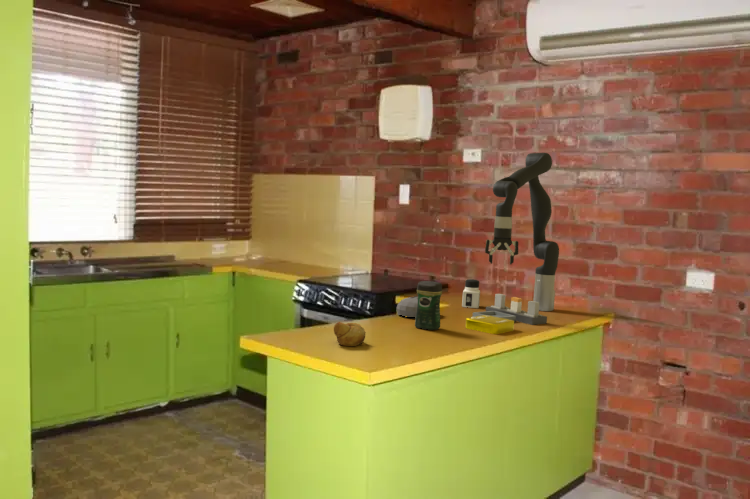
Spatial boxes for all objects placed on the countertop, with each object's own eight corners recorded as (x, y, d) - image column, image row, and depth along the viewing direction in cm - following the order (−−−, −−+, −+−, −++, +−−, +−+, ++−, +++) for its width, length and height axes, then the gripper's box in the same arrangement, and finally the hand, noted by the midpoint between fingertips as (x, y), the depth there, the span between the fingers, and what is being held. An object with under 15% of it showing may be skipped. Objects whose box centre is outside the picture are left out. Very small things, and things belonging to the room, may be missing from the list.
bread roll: (346, 338, 245) (348, 316, 244) (372, 342, 241) (373, 319, 241) (330, 345, 233) (331, 321, 232) (356, 349, 229) (357, 325, 229)
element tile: (495, 335, 266) (495, 323, 266) (463, 328, 276) (463, 317, 276) (515, 331, 277) (516, 319, 277) (484, 324, 287) (484, 313, 287)
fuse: (530, 321, 299) (532, 300, 298) (537, 323, 296) (539, 302, 295) (526, 321, 298) (528, 301, 297) (533, 323, 294) (535, 302, 294)
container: (478, 308, 325) (480, 281, 324) (461, 307, 327) (463, 279, 326) (479, 306, 333) (481, 279, 332) (463, 304, 334) (464, 278, 333)
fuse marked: (513, 317, 307) (515, 297, 306) (520, 318, 304) (522, 298, 303) (509, 317, 306) (511, 297, 305) (516, 319, 302) (518, 298, 302)
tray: (494, 316, 306) (494, 310, 306) (515, 321, 296) (516, 316, 296) (472, 318, 299) (472, 312, 299) (493, 323, 288) (494, 317, 288)
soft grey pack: (410, 310, 311) (389, 316, 293) (411, 292, 310) (390, 297, 293) (441, 315, 303) (421, 321, 286) (442, 296, 303) (422, 301, 285)
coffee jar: (442, 328, 272) (445, 281, 271) (434, 331, 266) (437, 283, 264) (420, 325, 277) (423, 279, 276) (411, 327, 270) (414, 280, 269)
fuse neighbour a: (497, 313, 315) (499, 293, 315) (504, 314, 312) (505, 295, 311) (493, 313, 314) (495, 293, 313) (500, 315, 311) (501, 295, 310)
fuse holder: (499, 312, 319) (500, 304, 319) (546, 323, 296) (547, 315, 296) (485, 313, 314) (486, 305, 313) (532, 324, 291) (532, 316, 290)
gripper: (518, 227, 305) (516, 263, 307) (485, 225, 306) (483, 262, 308) (520, 228, 298) (518, 265, 300) (487, 226, 299) (485, 264, 300)
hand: (500, 263), depth 304 cm, fingers open, 8 cm apart
